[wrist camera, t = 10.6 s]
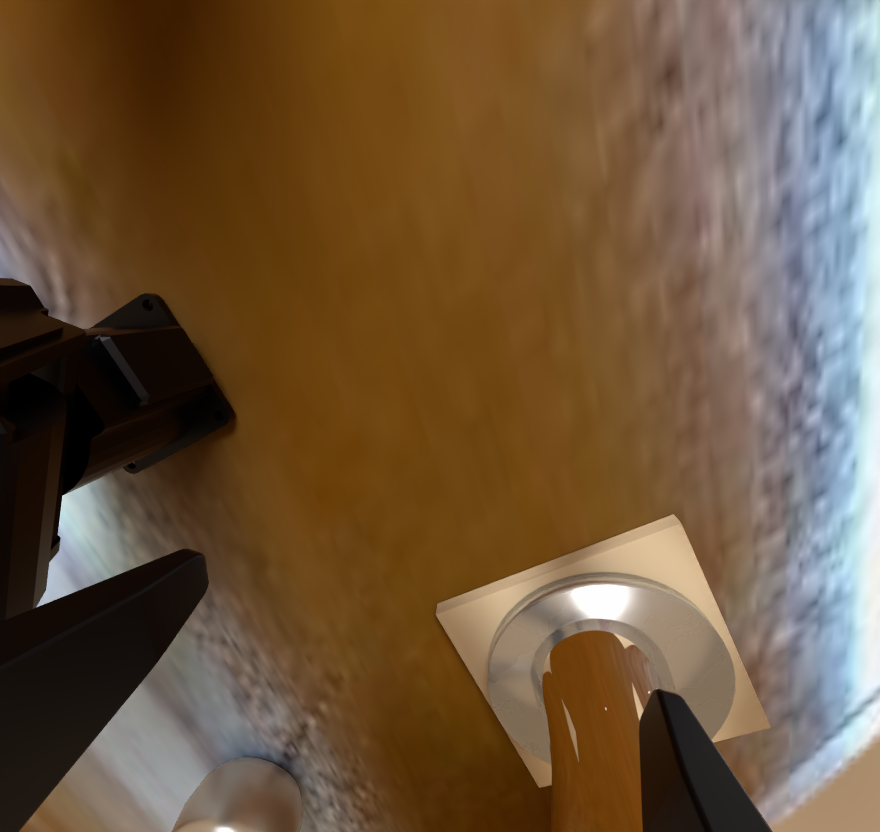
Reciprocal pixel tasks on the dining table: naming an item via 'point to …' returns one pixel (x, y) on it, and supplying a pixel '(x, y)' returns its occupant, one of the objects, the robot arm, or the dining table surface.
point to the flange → (620, 598)
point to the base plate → (634, 552)
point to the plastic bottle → (243, 800)
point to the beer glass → (596, 720)
